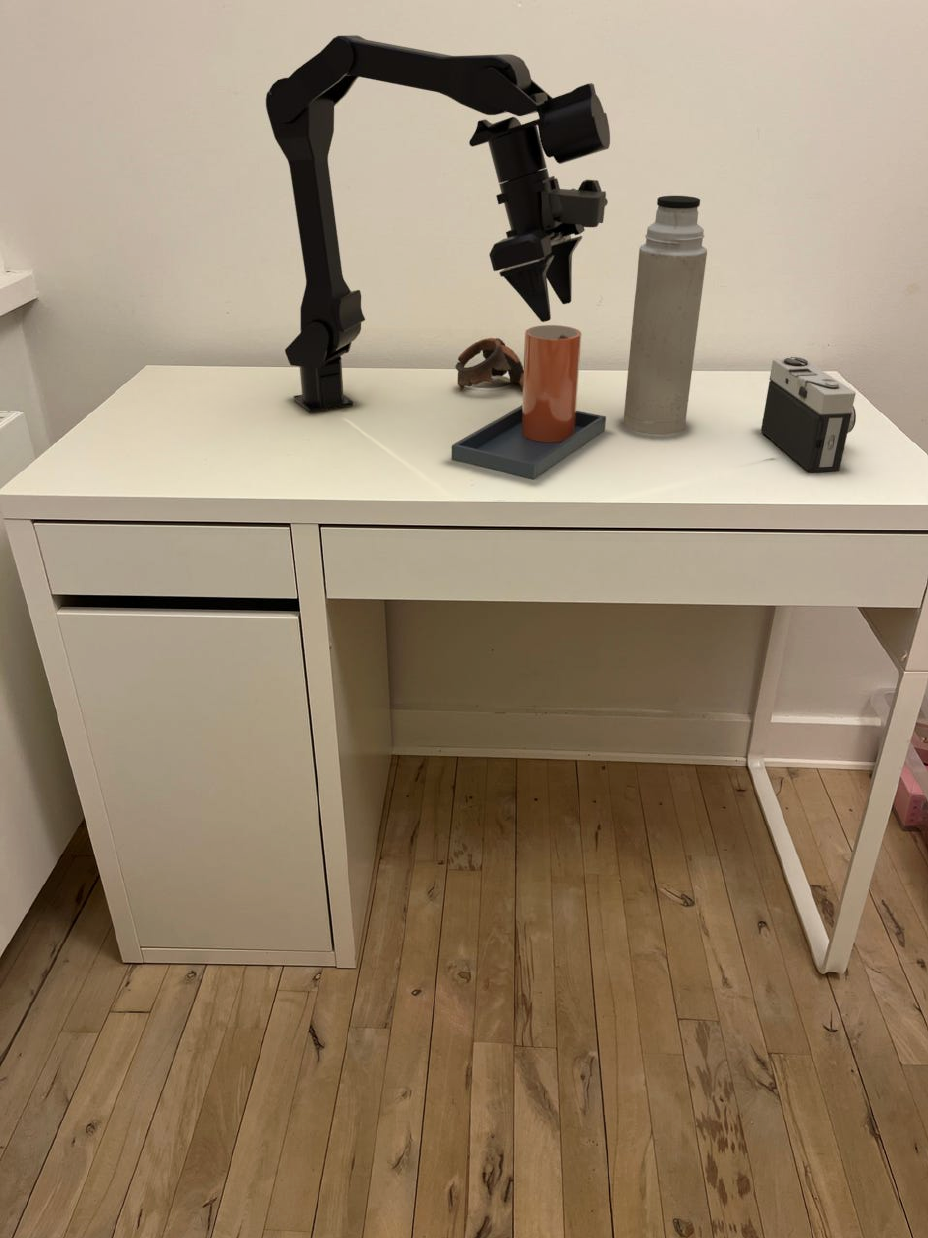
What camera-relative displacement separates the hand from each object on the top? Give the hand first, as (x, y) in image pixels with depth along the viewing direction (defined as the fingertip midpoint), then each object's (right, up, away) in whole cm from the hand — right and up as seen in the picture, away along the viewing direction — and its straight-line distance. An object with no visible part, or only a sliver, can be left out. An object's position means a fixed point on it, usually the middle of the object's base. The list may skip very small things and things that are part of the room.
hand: (557, 311), depth 118 cm
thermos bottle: (+14, -12, +10) cm, 21 cm away
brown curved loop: (-7, -4, +24) cm, 25 cm away
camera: (+32, -16, +3) cm, 36 cm away
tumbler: (-1, -13, +7) cm, 15 cm away
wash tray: (-3, -16, +4) cm, 16 cm away
